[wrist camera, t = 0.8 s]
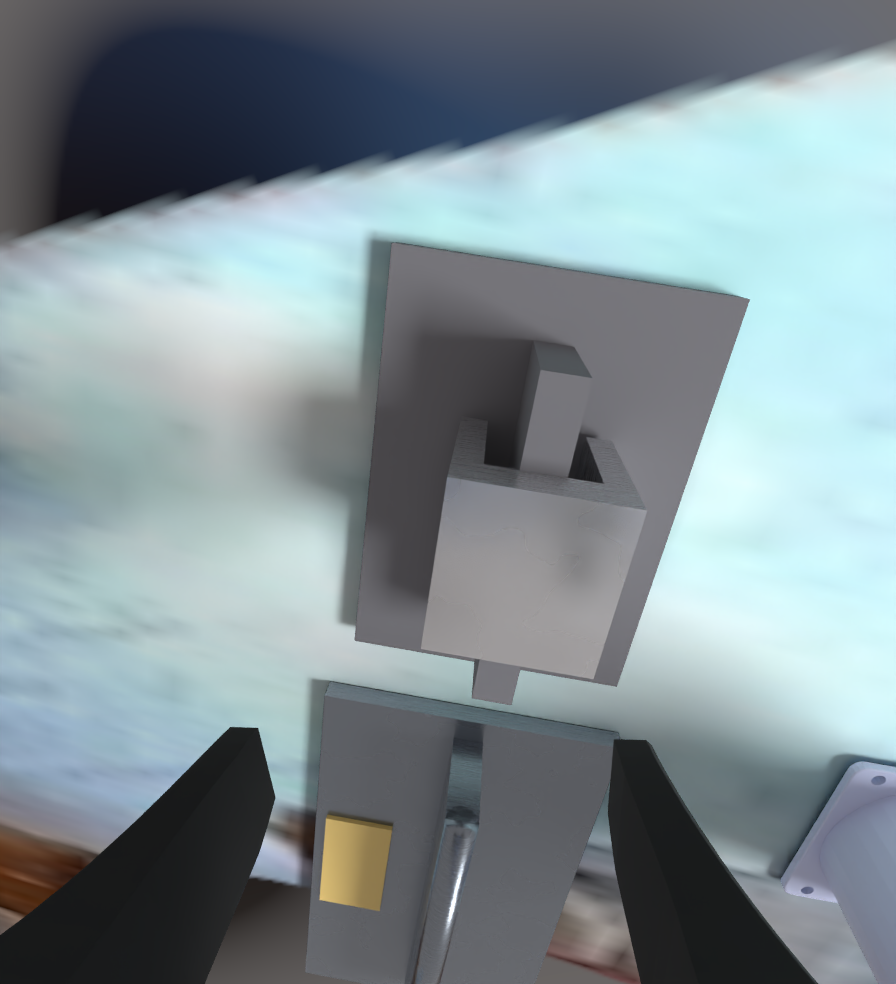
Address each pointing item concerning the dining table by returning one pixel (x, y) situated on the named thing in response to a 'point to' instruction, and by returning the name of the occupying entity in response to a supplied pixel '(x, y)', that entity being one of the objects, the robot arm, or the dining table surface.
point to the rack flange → (445, 838)
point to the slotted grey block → (531, 558)
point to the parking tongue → (529, 414)
